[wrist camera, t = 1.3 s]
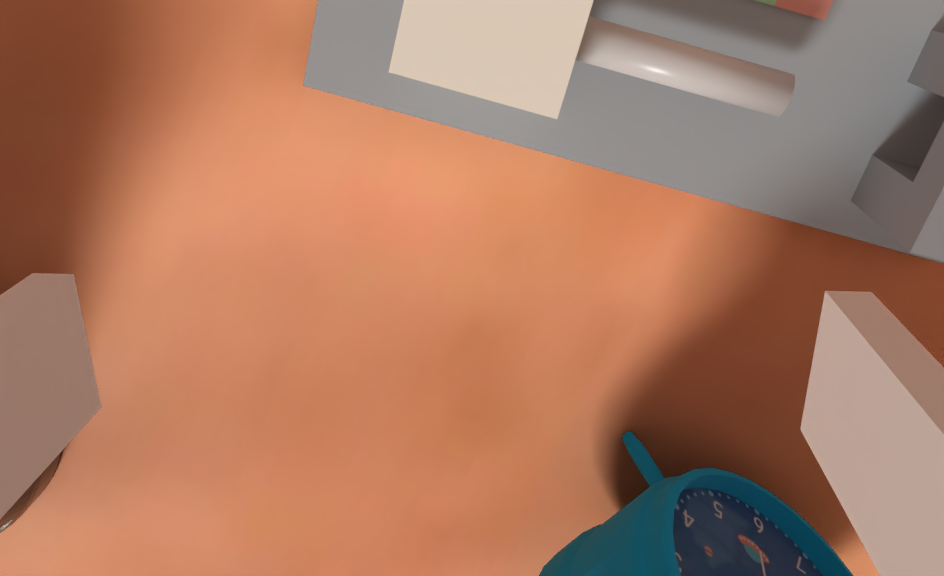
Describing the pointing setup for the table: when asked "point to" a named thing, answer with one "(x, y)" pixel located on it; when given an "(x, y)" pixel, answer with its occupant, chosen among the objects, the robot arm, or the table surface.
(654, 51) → the plunger
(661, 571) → the alarm clock
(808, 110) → the gauge board
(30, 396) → the robot arm
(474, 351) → the table surface
